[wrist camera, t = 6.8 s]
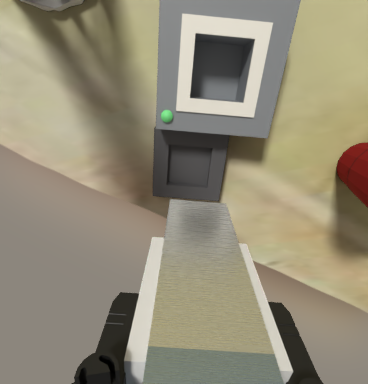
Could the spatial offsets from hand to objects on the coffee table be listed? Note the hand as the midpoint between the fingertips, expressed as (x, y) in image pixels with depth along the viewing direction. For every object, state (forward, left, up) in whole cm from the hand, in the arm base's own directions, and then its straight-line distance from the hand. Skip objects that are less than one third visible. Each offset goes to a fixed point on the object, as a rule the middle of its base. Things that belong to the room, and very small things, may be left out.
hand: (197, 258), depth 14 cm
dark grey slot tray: (0, 0, -19) cm, 19 cm away
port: (-11, +2, -19) cm, 22 cm away
